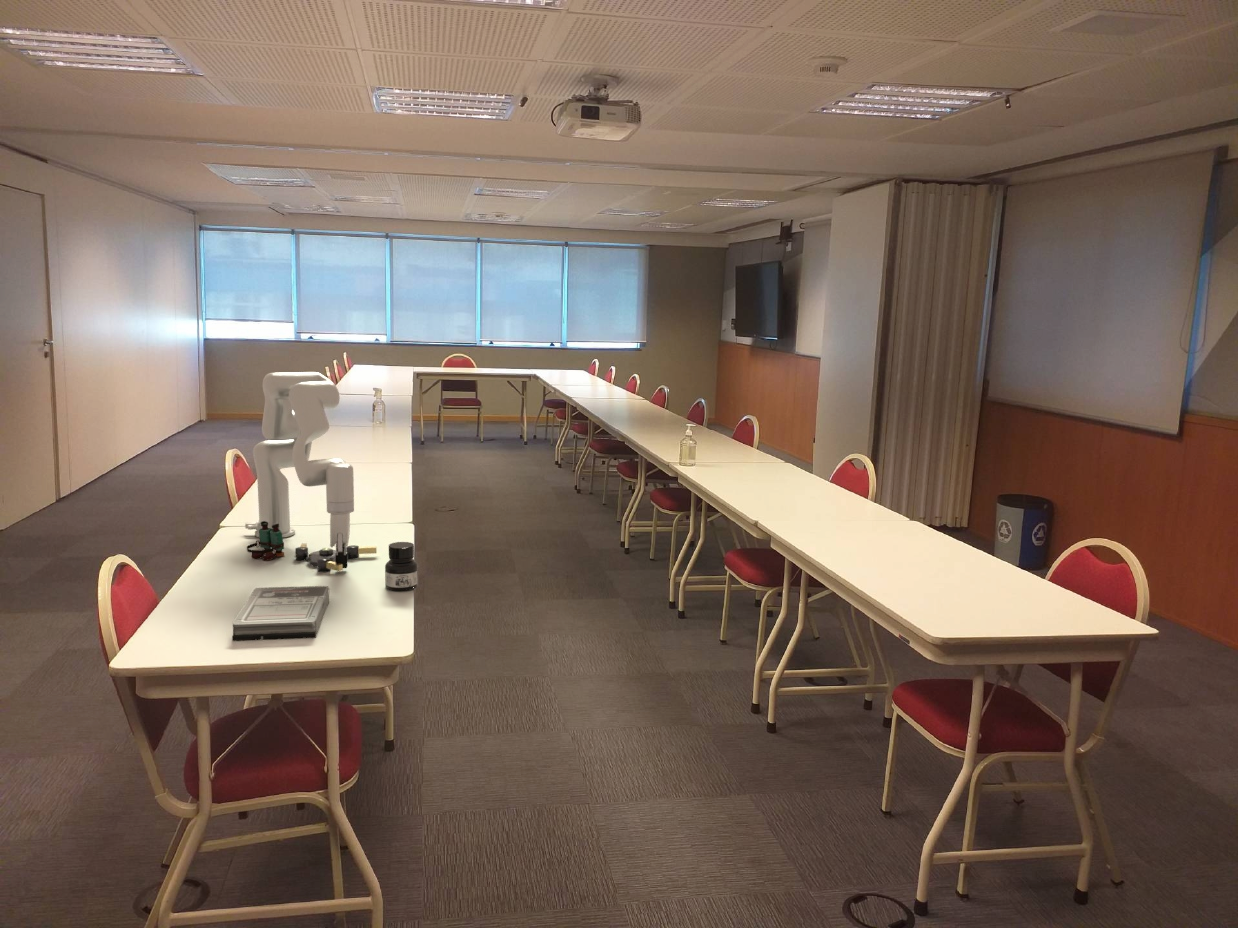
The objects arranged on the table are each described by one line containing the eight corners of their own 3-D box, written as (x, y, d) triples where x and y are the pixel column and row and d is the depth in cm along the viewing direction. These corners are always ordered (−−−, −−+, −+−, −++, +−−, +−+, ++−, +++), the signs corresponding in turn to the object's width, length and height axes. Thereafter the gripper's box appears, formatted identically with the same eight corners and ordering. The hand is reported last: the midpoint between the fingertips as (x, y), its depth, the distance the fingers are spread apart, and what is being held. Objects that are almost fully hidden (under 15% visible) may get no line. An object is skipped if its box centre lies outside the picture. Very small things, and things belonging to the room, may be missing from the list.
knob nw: (307, 560, 270) (307, 549, 269) (295, 560, 269) (294, 550, 269) (310, 552, 278) (310, 542, 278) (298, 552, 278) (297, 542, 277)
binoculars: (239, 528, 267) (264, 518, 275) (243, 561, 270) (269, 550, 278) (261, 532, 263) (286, 522, 272) (265, 566, 266) (290, 554, 275)
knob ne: (346, 559, 273) (346, 548, 272) (347, 555, 276) (346, 545, 276) (376, 558, 275) (376, 547, 274) (376, 554, 278) (376, 544, 278)
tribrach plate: (303, 569, 262) (302, 555, 261) (307, 558, 272) (306, 545, 272) (346, 567, 264) (345, 554, 264) (348, 556, 275) (348, 543, 275)
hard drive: (232, 642, 206) (231, 624, 205) (255, 604, 232) (255, 587, 231) (315, 639, 210) (315, 621, 209) (329, 601, 236) (329, 585, 235)
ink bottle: (382, 592, 243) (382, 549, 241) (384, 582, 252) (383, 541, 250) (419, 591, 245) (419, 548, 243) (420, 581, 254) (419, 540, 251)
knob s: (314, 570, 260) (314, 559, 260) (324, 567, 263) (324, 556, 263) (335, 576, 256) (335, 565, 255) (345, 573, 259) (345, 562, 258)
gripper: (328, 500, 264) (329, 560, 267) (324, 512, 249) (326, 575, 253) (355, 500, 265) (356, 559, 269) (352, 512, 251) (353, 574, 255)
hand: (341, 567), depth 261 cm, fingers closed
